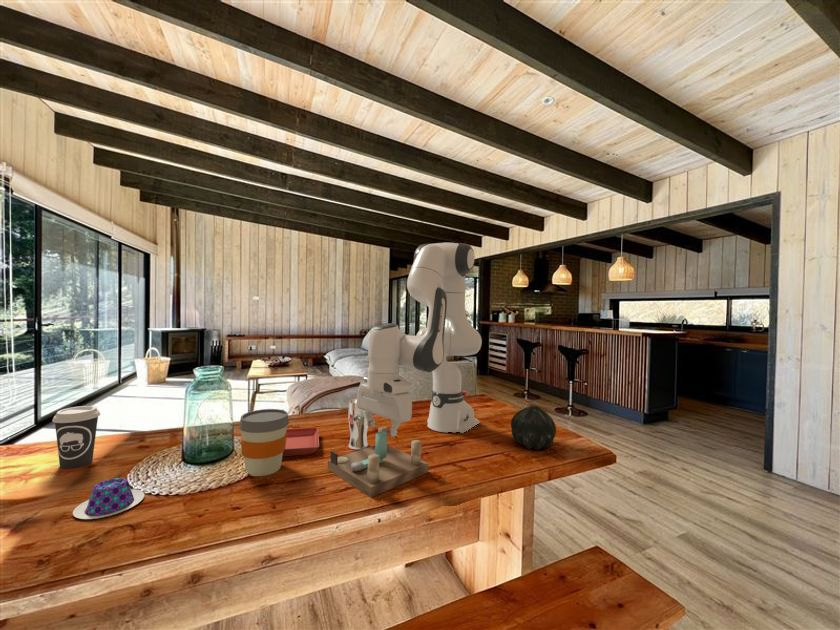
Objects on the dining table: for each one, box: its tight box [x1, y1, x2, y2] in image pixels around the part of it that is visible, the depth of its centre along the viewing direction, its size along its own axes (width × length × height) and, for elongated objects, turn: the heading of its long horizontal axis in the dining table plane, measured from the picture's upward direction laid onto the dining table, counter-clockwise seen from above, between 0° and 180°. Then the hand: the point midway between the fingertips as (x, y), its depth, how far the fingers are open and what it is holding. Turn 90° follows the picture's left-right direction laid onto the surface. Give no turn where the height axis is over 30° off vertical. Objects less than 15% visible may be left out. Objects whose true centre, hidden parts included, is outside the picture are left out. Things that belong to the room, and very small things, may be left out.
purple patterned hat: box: [72, 477, 145, 520], centre depth 79 cm, size 12×12×5 cm
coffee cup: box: [52, 405, 101, 470], centre depth 98 cm, size 10×10×15 cm
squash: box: [510, 405, 557, 451], centre depth 122 cm, size 14×15×15 cm
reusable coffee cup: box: [238, 408, 289, 477], centre depth 98 cm, size 13×13×15 cm
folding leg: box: [351, 431, 388, 471], centre depth 96 cm, size 11×3×8 cm, turn 135°
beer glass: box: [347, 398, 369, 451], centre depth 116 cm, size 7×7×15 cm
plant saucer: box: [282, 427, 320, 457], centre depth 114 cm, size 18×18×3 cm
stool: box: [327, 425, 429, 498], centre depth 99 cm, size 20×20×8 cm
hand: (381, 431), depth 98 cm, fingers open, 8 cm apart
